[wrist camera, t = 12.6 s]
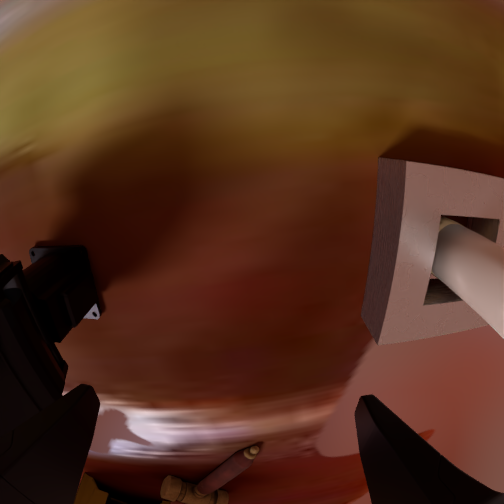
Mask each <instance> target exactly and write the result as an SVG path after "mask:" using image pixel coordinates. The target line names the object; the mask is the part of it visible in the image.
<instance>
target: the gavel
mask: <svg viewBox="0 0 504 504" xmlns="http://www.w3.org/2000/svg"><path fill="white" fill-rule="evenodd" d="M258 451H259V448H258V447H257V446H252V447H251V448H247V449H245V450H242V451H238V452H236V453H235V454H234V455H233V456H231V457H230V458H229V459H228V460H227V461H225V462H224V463H223V464H222V465H221V466H219V467H218V468H217V469H216V470H214V471H213V472H212V473H211V474H209V475H208V476H207V477H205V478H204V479H203V480H201V481H200V482H199V484H198V485H195V484H192V483H188V482H182V480H181V479H180V478H177V477H174V476H171V475H169V476H167V477H166V478H165V479H164V481H163V483H162V486H161V491H160V495H161V497H162V498H163V499H167V500H170V501H175V500H178V501H179V502H182V503H186V504H228V501H229V496H228V493H227V491H224V490H219V489H218V488H220V487H221V486H223V485H224V484H226V483H227V482H229V481H230V480H232V479H233V478H234V477H236V476H237V475H239V474H240V473H241V472H243V471H244V470H245V469H247V468H248V467H249V466H251V464H252V462H253V460H254V458H255V457H256V453H258Z"/></svg>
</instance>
